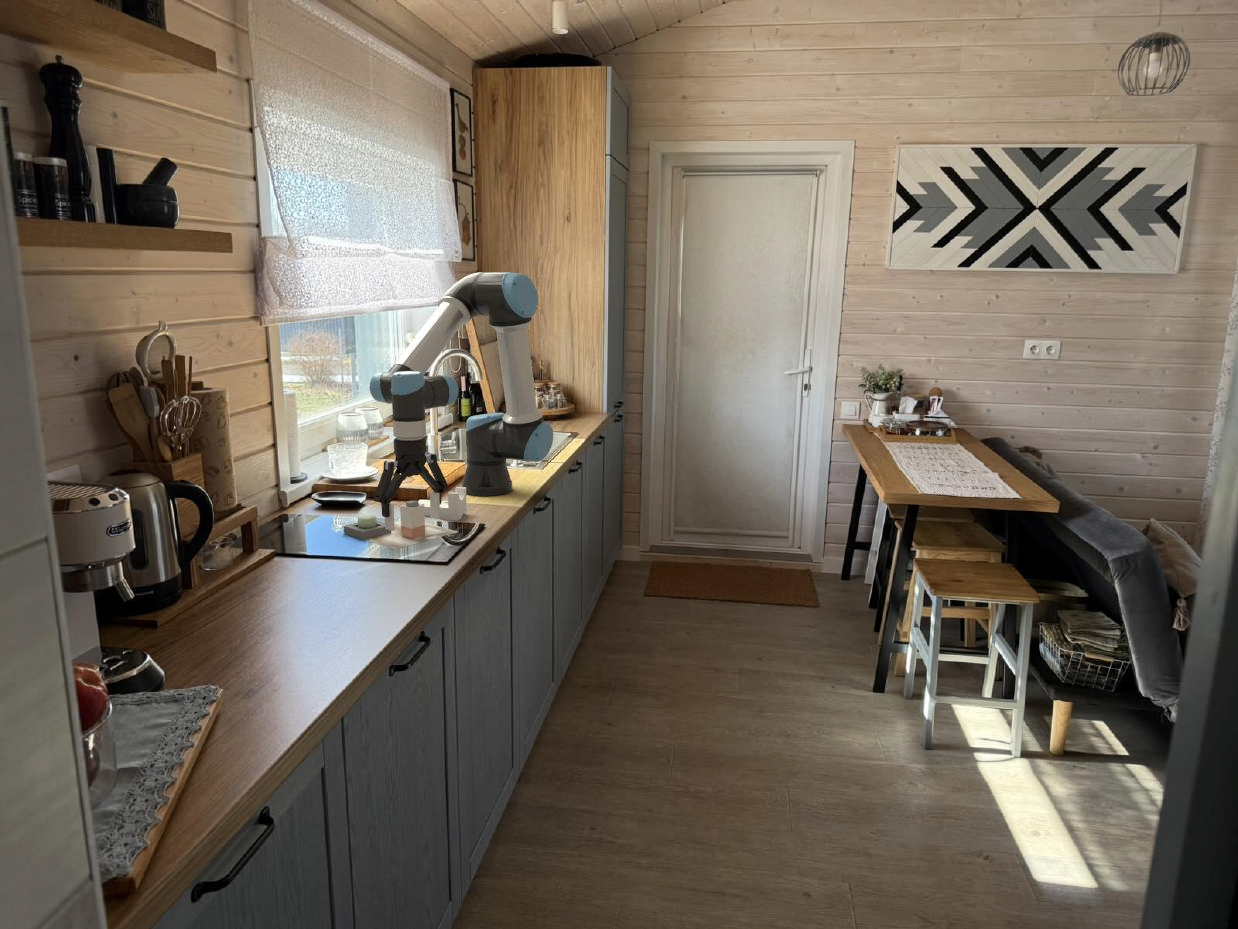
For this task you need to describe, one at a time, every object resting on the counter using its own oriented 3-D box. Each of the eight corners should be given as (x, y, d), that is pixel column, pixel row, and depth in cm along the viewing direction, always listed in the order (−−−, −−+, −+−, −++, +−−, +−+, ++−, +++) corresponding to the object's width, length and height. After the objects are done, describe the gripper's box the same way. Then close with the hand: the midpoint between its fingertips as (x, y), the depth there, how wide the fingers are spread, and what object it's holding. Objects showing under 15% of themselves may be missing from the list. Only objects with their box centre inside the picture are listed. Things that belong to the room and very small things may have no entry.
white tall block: (414, 532, 212) (413, 499, 210) (425, 535, 210) (424, 502, 208) (401, 535, 209) (400, 502, 207) (412, 538, 207) (410, 505, 205)
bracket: (466, 514, 233) (466, 487, 232) (458, 521, 226) (457, 493, 225) (420, 512, 235) (419, 485, 234) (410, 519, 228) (409, 491, 227)
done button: (369, 523, 214) (369, 514, 213) (380, 527, 211) (380, 517, 210) (354, 527, 210) (353, 517, 210) (365, 531, 208) (364, 521, 207)
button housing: (371, 526, 216) (371, 519, 216) (391, 532, 212) (391, 525, 211) (343, 533, 210) (343, 525, 210) (363, 540, 205) (363, 532, 205)
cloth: (411, 519, 226) (410, 516, 226) (464, 534, 214) (464, 531, 213) (341, 536, 210) (340, 533, 210) (394, 554, 198) (394, 550, 197)
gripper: (440, 428, 216) (443, 510, 221) (355, 442, 197) (359, 531, 202) (460, 432, 212) (463, 516, 216) (374, 446, 193) (379, 537, 197)
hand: (413, 523), depth 209 cm, fingers open, 13 cm apart
